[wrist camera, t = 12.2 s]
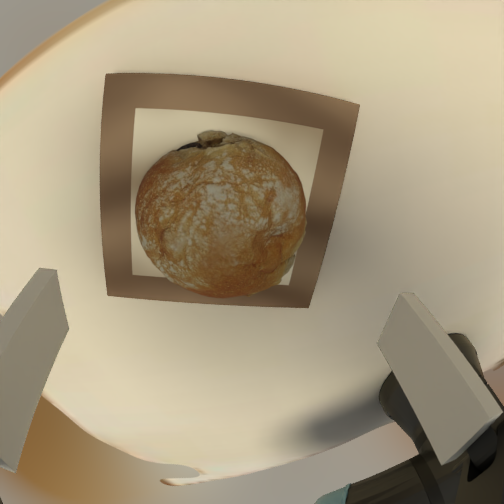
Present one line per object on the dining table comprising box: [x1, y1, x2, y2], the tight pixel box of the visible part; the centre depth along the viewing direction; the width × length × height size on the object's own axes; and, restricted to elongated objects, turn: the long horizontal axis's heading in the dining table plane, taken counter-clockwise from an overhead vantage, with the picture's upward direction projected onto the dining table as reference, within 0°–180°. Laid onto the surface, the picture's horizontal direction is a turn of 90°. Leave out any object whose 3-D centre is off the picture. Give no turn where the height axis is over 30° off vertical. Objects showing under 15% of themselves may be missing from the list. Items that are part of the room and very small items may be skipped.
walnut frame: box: [100, 73, 360, 308], centre depth 21 cm, size 16×16×2 cm
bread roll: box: [135, 130, 307, 298], centre depth 18 cm, size 10×10×8 cm
